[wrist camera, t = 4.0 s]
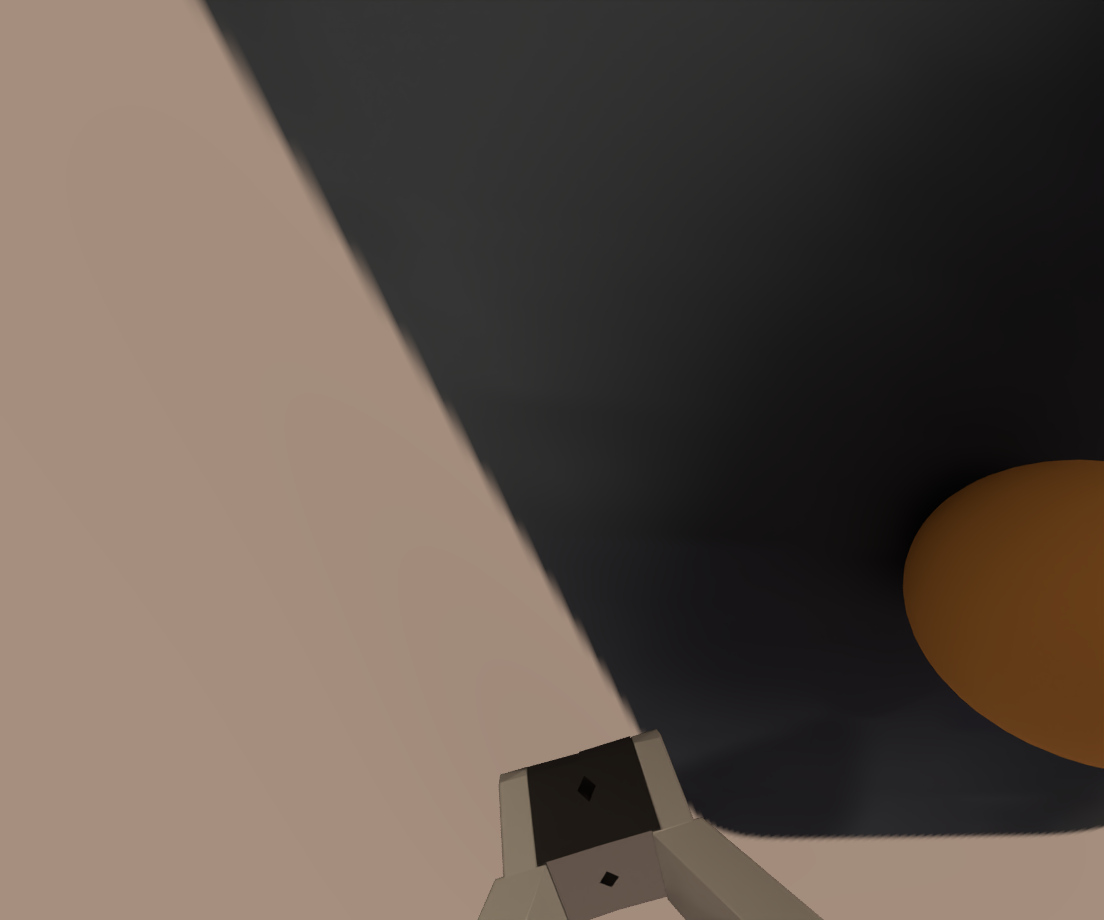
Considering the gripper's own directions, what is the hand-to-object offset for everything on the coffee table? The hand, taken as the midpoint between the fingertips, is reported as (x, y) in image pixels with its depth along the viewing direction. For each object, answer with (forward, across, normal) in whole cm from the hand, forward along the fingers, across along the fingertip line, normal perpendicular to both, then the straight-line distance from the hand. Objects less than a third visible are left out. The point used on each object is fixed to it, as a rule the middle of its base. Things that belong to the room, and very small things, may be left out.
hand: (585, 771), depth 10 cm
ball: (0, -10, 0) cm, 10 cm away
